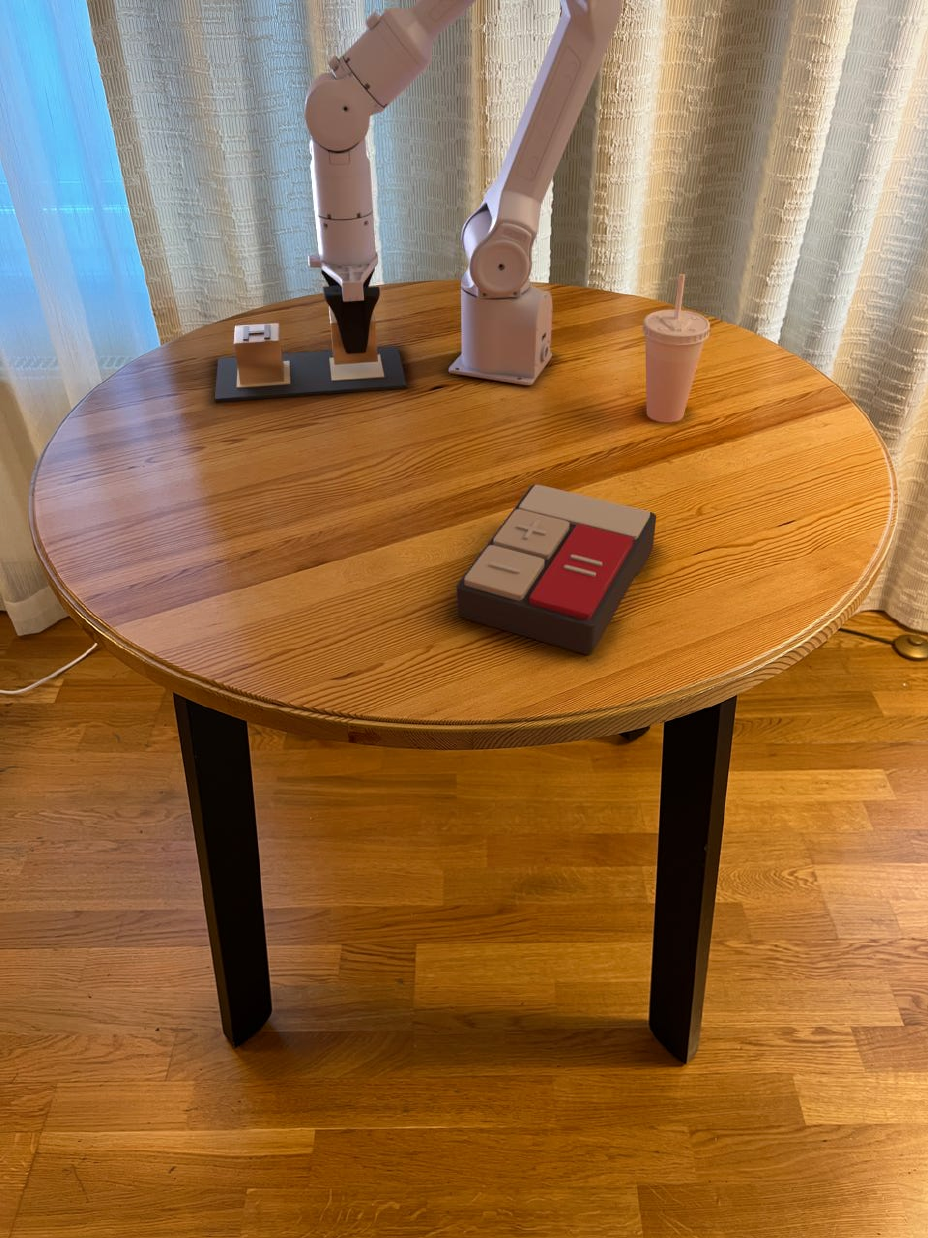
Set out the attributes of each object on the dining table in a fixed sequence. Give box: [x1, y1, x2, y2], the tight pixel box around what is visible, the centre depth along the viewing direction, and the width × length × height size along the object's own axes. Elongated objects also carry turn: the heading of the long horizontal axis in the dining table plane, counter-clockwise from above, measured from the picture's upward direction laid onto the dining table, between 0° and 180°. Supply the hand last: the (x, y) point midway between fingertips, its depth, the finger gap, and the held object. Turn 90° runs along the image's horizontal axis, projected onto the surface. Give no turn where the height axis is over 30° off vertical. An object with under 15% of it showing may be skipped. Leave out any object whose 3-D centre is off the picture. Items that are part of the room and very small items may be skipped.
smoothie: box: [641, 273, 711, 424], centre depth 99 cm, size 6×6×14 cm
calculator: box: [456, 484, 657, 656], centre depth 80 cm, size 11×4×15 cm
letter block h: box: [233, 322, 284, 384], centre depth 108 cm, size 5×5×5 cm
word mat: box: [214, 345, 408, 403], centre depth 111 cm, size 20×10×1 cm, turn 98°
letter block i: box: [328, 305, 378, 365], centre depth 108 cm, size 5×5×5 cm
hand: (354, 341), depth 109 cm, fingers closed on letter block i, 4 cm apart
